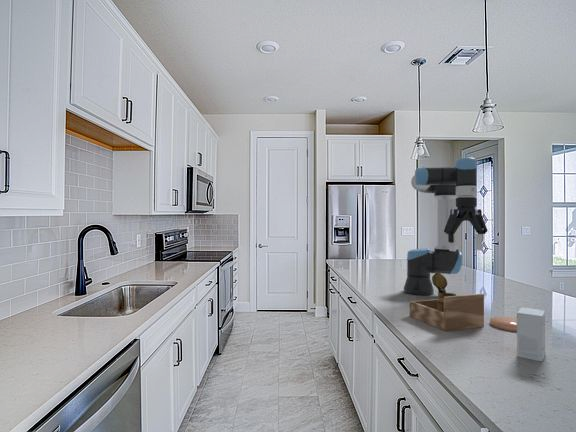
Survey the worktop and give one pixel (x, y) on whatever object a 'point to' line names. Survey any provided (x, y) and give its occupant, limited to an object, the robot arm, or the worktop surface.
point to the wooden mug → (441, 290)
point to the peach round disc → (504, 323)
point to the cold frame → (451, 312)
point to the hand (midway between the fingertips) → (466, 250)
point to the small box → (531, 334)
